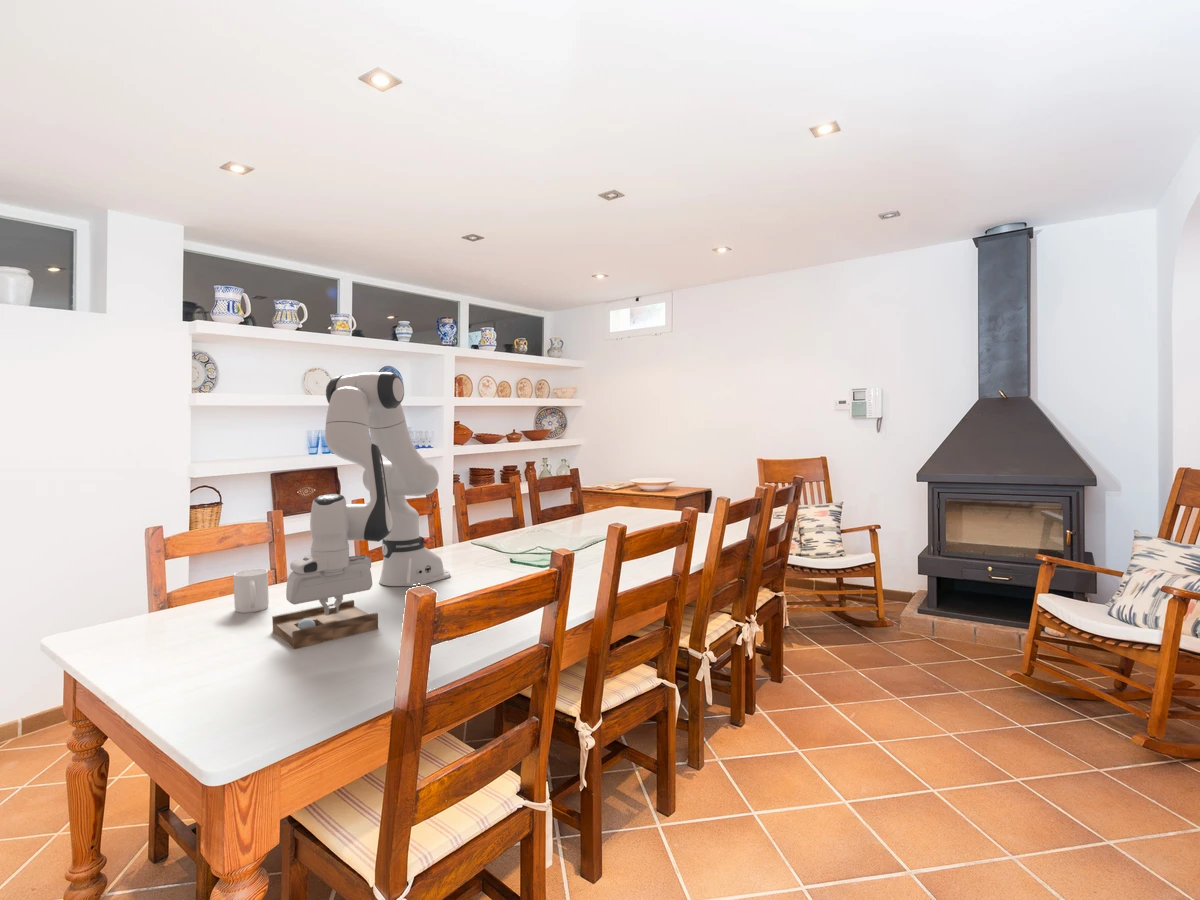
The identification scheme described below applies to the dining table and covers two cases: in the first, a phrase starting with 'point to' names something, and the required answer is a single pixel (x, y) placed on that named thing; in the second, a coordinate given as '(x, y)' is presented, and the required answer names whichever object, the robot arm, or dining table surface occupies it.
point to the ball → (306, 623)
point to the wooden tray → (323, 624)
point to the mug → (251, 590)
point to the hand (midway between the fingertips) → (331, 613)
